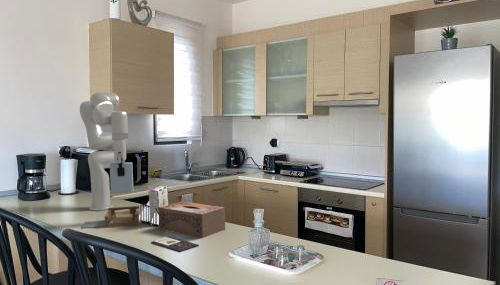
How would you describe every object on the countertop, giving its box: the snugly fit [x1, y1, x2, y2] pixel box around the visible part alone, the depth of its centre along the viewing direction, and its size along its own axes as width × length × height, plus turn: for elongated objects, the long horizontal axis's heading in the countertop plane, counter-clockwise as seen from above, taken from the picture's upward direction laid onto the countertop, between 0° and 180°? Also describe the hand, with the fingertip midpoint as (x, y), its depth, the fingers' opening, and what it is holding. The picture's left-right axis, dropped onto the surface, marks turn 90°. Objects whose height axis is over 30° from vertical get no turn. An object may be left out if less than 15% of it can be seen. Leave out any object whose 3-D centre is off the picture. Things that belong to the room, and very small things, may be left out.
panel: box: [109, 162, 134, 194], centre depth 198 cm, size 4×10×14 cm, turn 102°
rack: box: [104, 205, 141, 228], centre depth 195 cm, size 14×14×6 cm
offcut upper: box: [114, 209, 130, 218], centre depth 193 cm, size 4×6×2 cm, turn 120°
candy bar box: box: [148, 185, 169, 226], centre depth 193 cm, size 11×5×16 cm, turn 168°
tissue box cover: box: [158, 201, 226, 239], centre depth 181 cm, size 26×14×10 cm, turn 54°
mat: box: [81, 219, 105, 229], centre depth 193 cm, size 11×11×1 cm
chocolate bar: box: [150, 236, 200, 253], centre depth 159 cm, size 9×1×18 cm
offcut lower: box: [111, 214, 134, 223], centre depth 193 cm, size 4×9×4 cm, turn 104°
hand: (121, 175), depth 197 cm, fingers closed on panel, 3 cm apart
